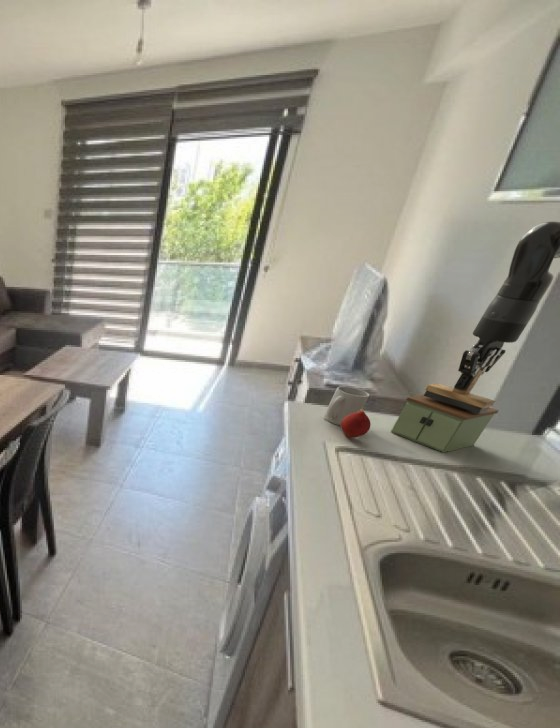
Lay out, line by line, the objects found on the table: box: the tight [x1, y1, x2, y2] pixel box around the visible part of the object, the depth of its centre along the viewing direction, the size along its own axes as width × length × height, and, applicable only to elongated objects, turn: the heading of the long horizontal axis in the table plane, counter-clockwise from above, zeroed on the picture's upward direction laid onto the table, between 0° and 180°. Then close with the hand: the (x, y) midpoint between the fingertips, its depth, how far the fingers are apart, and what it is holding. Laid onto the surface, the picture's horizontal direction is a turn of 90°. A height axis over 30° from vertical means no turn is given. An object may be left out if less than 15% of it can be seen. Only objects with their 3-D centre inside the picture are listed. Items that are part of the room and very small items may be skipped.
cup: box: [323, 385, 370, 426], centre depth 131 cm, size 7×10×9 cm
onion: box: [340, 409, 371, 439], centre depth 122 cm, size 6×6×8 cm
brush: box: [423, 367, 496, 414], centre depth 117 cm, size 12×4×9 cm, turn 23°
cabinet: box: [390, 394, 499, 453], centre depth 124 cm, size 13×15×10 cm
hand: (462, 388), depth 118 cm, fingers closed on brush, 2 cm apart
